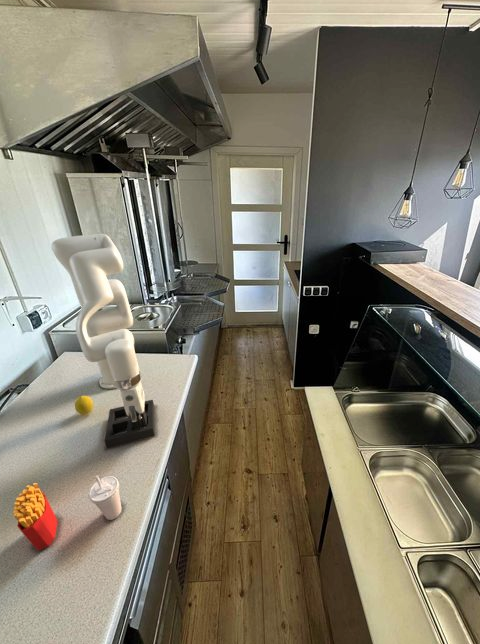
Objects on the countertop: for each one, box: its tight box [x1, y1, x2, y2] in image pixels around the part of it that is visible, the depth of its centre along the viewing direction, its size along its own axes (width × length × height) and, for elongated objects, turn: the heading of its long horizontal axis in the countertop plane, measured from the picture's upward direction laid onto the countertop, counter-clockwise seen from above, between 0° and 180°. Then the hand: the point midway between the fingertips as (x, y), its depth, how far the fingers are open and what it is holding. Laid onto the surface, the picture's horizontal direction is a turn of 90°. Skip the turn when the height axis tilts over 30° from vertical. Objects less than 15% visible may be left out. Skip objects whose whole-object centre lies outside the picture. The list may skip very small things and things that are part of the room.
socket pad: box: [103, 399, 156, 449], centre depth 98 cm, size 14×14×4 cm
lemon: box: [74, 395, 94, 416], centre depth 102 cm, size 6×6×8 cm
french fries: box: [12, 482, 58, 551], centre depth 66 cm, size 9×4×13 cm, turn 25°
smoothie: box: [88, 474, 122, 521], centre depth 70 cm, size 6×6×14 cm
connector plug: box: [130, 409, 148, 429], centre depth 94 cm, size 4×4×6 cm
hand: (139, 421), depth 95 cm, fingers closed on connector plug, 4 cm apart
